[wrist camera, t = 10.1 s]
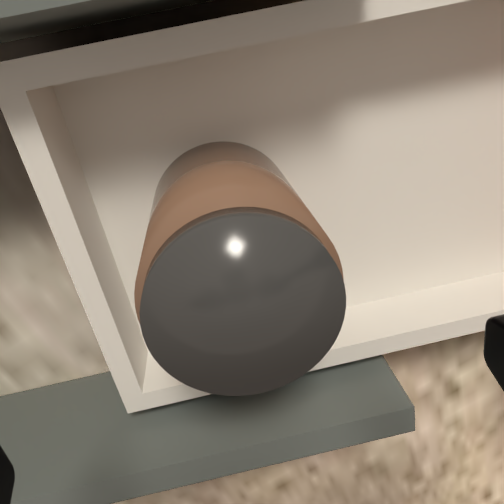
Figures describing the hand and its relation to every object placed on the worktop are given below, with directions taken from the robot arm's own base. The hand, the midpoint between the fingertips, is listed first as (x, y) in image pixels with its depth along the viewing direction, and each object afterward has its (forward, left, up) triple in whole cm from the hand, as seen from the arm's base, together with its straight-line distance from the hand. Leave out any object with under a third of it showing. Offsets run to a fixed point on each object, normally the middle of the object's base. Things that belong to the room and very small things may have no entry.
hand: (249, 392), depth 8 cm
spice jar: (0, 0, -10) cm, 10 cm away
